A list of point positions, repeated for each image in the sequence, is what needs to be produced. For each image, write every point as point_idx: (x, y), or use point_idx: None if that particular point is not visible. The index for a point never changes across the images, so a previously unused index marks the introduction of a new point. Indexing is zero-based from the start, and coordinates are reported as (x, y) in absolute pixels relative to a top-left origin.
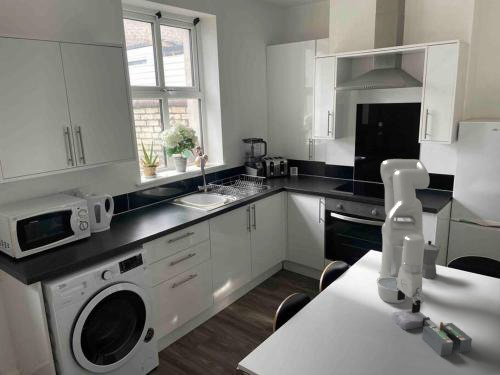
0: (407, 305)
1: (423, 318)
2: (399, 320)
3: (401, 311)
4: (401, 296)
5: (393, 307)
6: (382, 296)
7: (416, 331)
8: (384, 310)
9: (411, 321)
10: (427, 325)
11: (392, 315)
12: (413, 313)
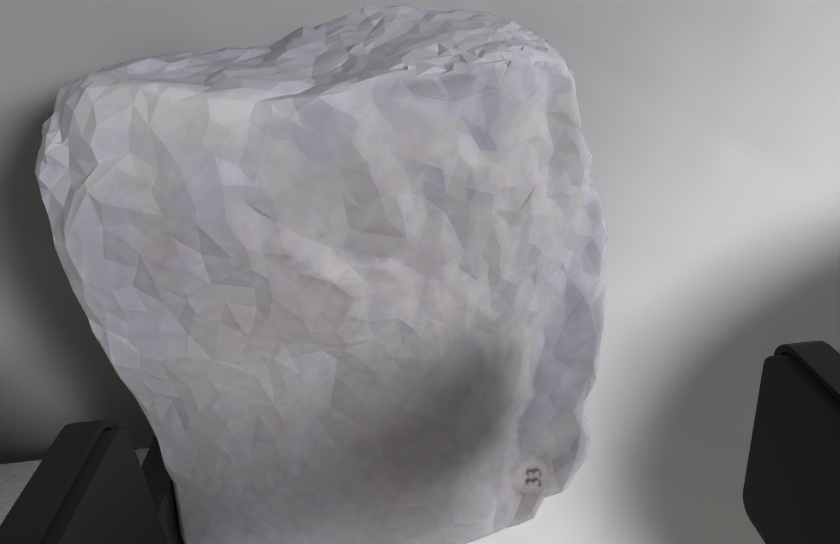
0: None
1: None
2: (231, 66)
3: (588, 279)
4: (818, 503)
5: (826, 230)
6: None
7: None
8: (809, 8)
9: (68, 277)
10: None
11: (505, 29)
12: (386, 437)
